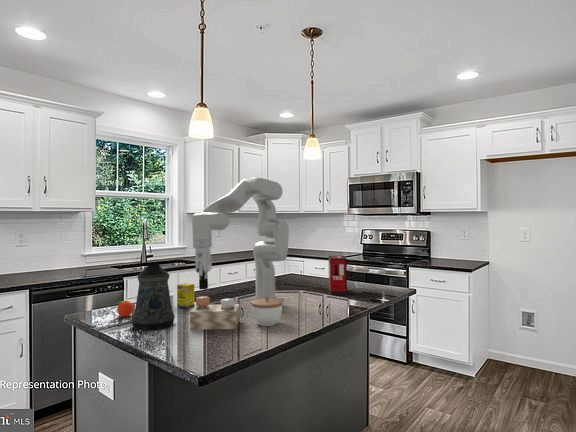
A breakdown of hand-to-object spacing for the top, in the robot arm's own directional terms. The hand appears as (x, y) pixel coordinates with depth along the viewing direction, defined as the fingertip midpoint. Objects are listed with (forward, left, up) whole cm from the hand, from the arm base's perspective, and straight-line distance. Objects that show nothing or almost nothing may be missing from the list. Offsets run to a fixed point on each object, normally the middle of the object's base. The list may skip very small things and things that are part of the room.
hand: (203, 288), depth 162 cm
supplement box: (+15, -34, -15) cm, 40 cm away
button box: (-5, 0, -15) cm, 15 cm away
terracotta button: (0, 0, -13) cm, 13 cm away
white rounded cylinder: (-10, 0, -14) cm, 17 cm away
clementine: (+38, -16, -15) cm, 44 cm away
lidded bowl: (-26, -1, -15) cm, 30 cm away
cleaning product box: (-64, -65, -15) cm, 92 cm away
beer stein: (+21, -2, -15) cm, 26 cm away
